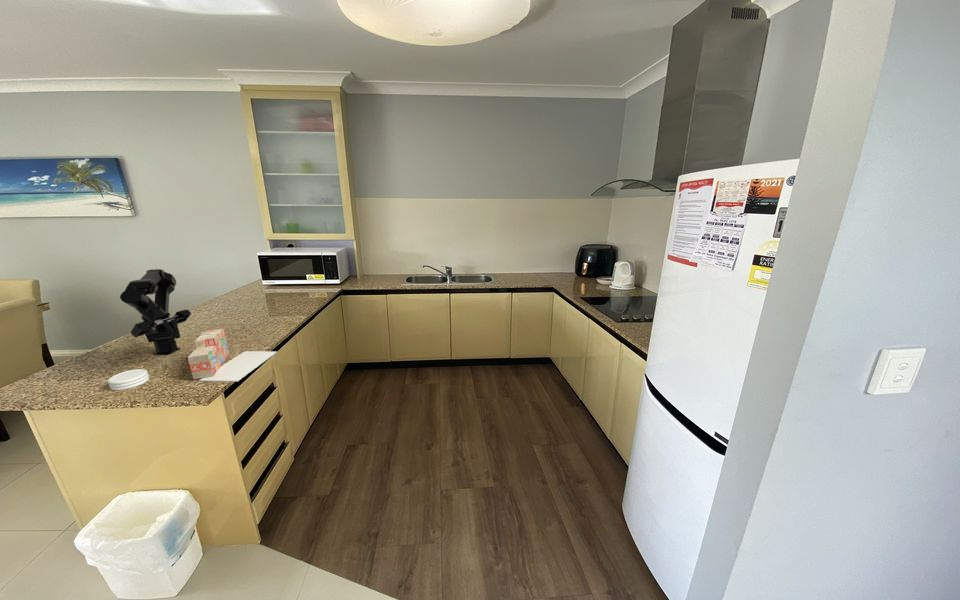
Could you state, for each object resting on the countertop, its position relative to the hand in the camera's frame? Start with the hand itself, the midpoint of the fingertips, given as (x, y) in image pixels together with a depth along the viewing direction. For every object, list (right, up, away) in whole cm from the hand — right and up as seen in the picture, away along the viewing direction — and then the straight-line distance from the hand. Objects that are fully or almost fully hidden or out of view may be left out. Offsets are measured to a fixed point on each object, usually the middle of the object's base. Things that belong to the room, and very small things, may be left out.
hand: (179, 337), depth 128 cm
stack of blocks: (+12, -12, +2) cm, 17 cm away
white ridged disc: (-8, -16, -10) cm, 21 cm away
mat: (+22, -12, +4) cm, 25 cm away
